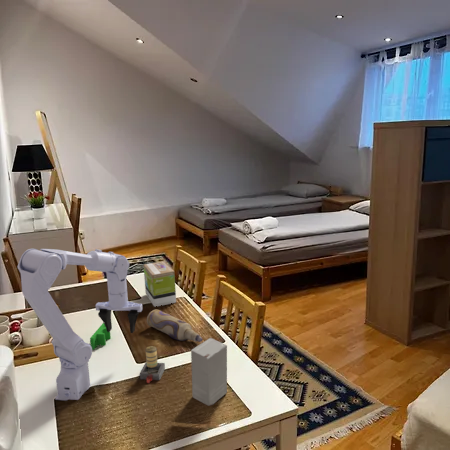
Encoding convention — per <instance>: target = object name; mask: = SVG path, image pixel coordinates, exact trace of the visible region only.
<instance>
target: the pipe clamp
mask: <svg viewBox="0 0 450 450" xmlns="http://www.w3.org/2000/svg"><path fill="white" fill-rule="evenodd" d="M111 339H112V337H111V331H110V332H107V329H106V327H105V325H104V323H101V324H100V326H99V327H98V328H97V330H96V331H94V333H92V335H91V336H90V338H89V341H90V343H89V344H90V345H91V347H92V351H93V350H94V351H95V350H96V349H97V347H98V346H100V347H101V346H104V347H105V346H106V345H107V343H106V341H107V340H111Z"/></svg>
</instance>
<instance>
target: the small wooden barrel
mask: <svg viewBox="0 0 450 450" xmlns="http://www.w3.org/2000/svg"><path fill="white" fill-rule="evenodd" d="M157 350H158V349H157V347H156V346H153V345H150V346H147V347H146V348H145V357H146V358H145V363H147V367H150V368H152V367H156V366H157V363H158V352H157Z"/></svg>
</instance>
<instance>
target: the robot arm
mask: <svg viewBox="0 0 450 450" xmlns="http://www.w3.org/2000/svg"><path fill="white" fill-rule="evenodd" d="M67 265H73V266H84V267H85V269H86V270H88V271H92V272H101V273H102V272H103V273H106V283H107V291H108V292H107V294H108V301H102V302H99V301H98V302H96V304H95V311H99V312H98V317H99V318H100V320H101V321H102V322H103V323H104V325H105V327H106V329H107V332H110V333H111V331H112V329H113V328H112V327H113V325H112V324H113V323H112V311H114V312H115V311H117V312H119V311H123V312H125V311H128V312H129V313H128V314H127V317H128V318H127V319H128V324H129V332H130V334H134V332H135V329H136V323H137V320H138V316H139V315H140V313H142V311H143V304H142V303H137V302H132V301H129V299H128V297H129V296H128V286H127V277H128V270H129V268H130V261H129V260H128V259H127V257H126V256H125V255H122V254H118V253H115V252H114V251H108V252H106V251H103V250H102V249H97V248H95V249H94V250H91V251H88V252H87V253H80V252H74V251H67V250H62V249H53V248H40V250H39V249H37V248H28V249H27V250H25V251H24V252H23V253H22V254H21V256H20V258H19V261H18V264H17V269H18V272H19V273H20V280H21V281H20V282H21V292H22V295H23V296H24V298H25V300H26V301H27V302H28V303H27V304H29V306H30V307H31V309H32V310H33V311H34V313H35V315H36V316H37V317H38V319H39V320H40V322H41V323H42V325H43V327H45V328H46V330H47V332H48V333H49V335H50V336H51V337H52V339H51V342H50V343H51V345H52V347H53V354H54V355H55V356H56V357H58V359H59V362H60V371H59V373H58V375H57V376H56V379H55V384H56V391H57V395H56V396H55V398H54V399H55V400H56V401H68V400H72V401H73V400H76V401H78V400H80V398H82V395H84V394H85V393H86V391H87V390H89V389H90V387H91V379H90V369H89V362H90V359H91V358H92V355H93V350H92V347H91V343H88V342H86V341H85V340H84V339H83V338H82V337H81V336H80V335H79V334H77V333H76V332H75V331H74V330H73V328H72V327H71V325H70V323H69V322H68V320H67V319H66V317H65V316H64V314H63V313H62V311H61V310H60V308H59V307H58V305H57V304H56V302H55V300H54V299H53V297H52V295H51V294H50V292H49V290H50V289H51V287H52V286H53V284H54V283H55V281H56V279H57V278H58V276H60V273H61V271H62V270H64V271H65V270H66V268H67ZM103 323H102V324H103Z"/></svg>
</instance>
